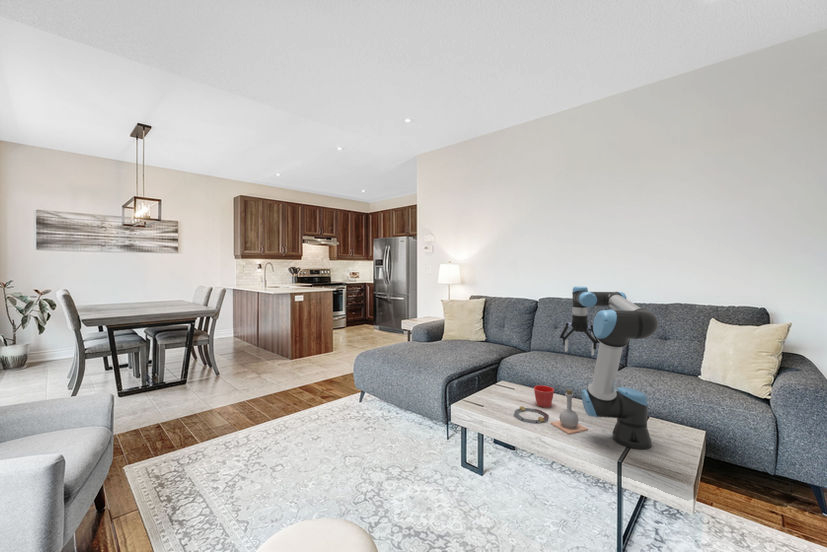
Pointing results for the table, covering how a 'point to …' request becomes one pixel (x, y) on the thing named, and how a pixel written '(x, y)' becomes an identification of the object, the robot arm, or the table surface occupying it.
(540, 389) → the flower pot
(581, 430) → the coaster
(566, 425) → the potion bottle
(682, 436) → the table surface
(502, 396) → the table surface
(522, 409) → the collar
